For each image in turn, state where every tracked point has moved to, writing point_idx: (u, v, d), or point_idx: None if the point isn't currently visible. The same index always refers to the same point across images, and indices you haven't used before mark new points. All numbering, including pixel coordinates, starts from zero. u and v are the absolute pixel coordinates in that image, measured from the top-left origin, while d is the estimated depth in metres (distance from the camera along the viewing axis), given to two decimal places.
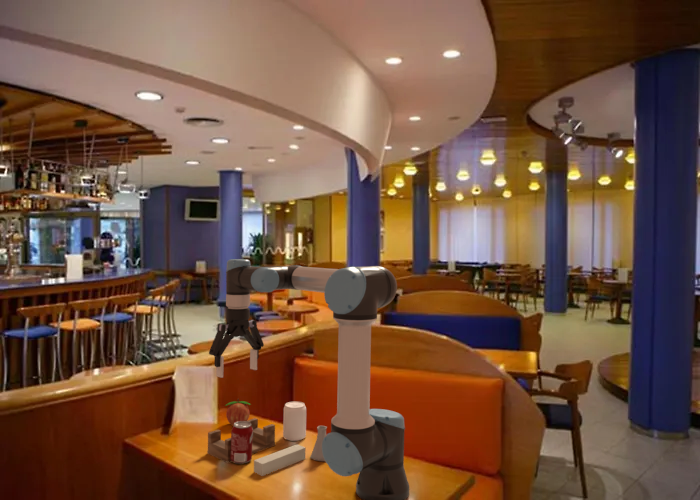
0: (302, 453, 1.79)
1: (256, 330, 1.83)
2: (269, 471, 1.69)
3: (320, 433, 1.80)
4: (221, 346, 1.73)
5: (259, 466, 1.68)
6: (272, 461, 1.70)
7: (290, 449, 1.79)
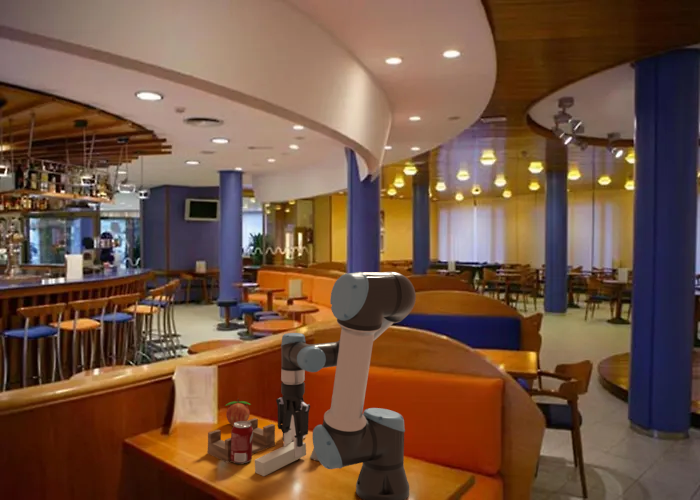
0: (303, 448, 1.79)
1: (301, 416, 1.74)
2: (270, 469, 1.69)
3: None
4: None
5: (260, 465, 1.67)
6: (273, 459, 1.69)
7: (290, 445, 1.78)
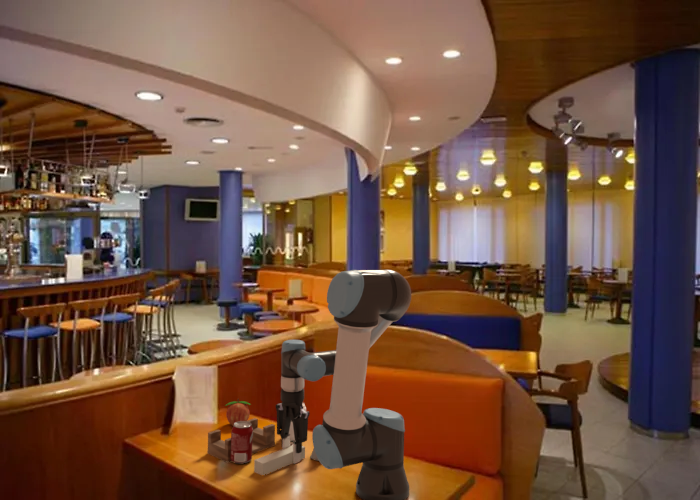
0: (302, 452, 1.80)
1: (301, 423, 1.74)
2: (269, 470, 1.69)
3: None
4: None
5: (260, 466, 1.68)
6: (273, 460, 1.70)
7: (289, 448, 1.79)
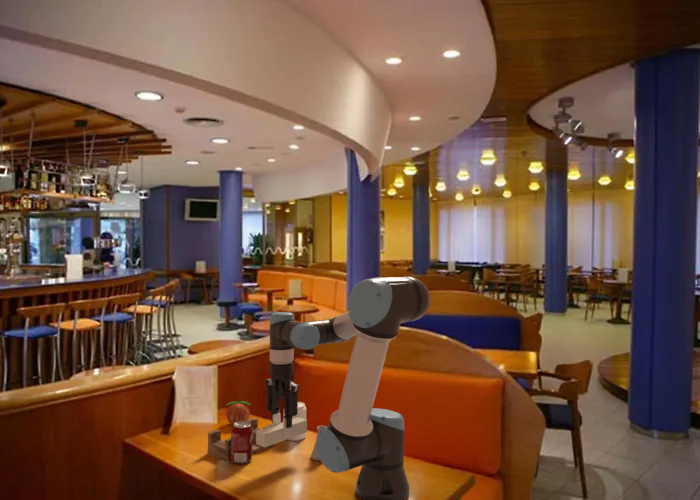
0: (304, 425, 1.79)
1: (290, 396, 1.70)
2: (271, 442, 1.68)
3: None
4: None
5: (262, 436, 1.67)
6: (275, 432, 1.69)
7: None
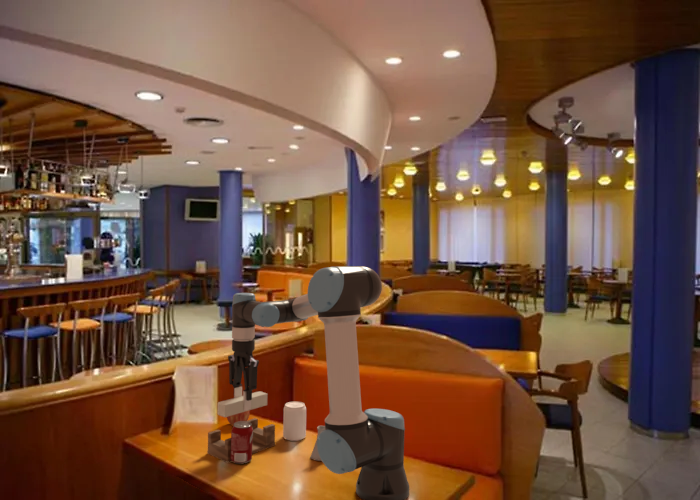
0: (264, 398, 1.92)
1: (250, 371, 1.82)
2: (232, 412, 1.81)
3: None
4: None
5: (222, 407, 1.80)
6: (235, 403, 1.82)
7: (252, 394, 1.91)
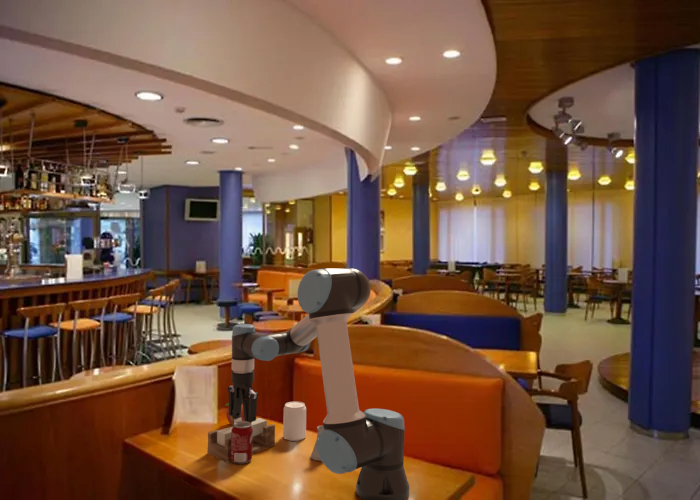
0: (264, 425, 1.92)
1: (249, 403, 1.82)
2: None
3: (319, 433, 1.80)
4: None
5: (222, 436, 1.80)
6: None
7: None
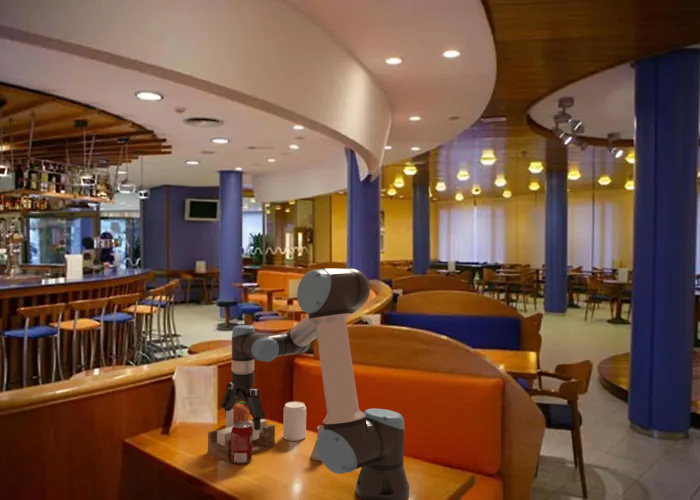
0: (264, 425, 1.92)
1: (253, 400, 1.81)
2: None
3: None
4: None
5: (222, 436, 1.80)
6: None
7: None
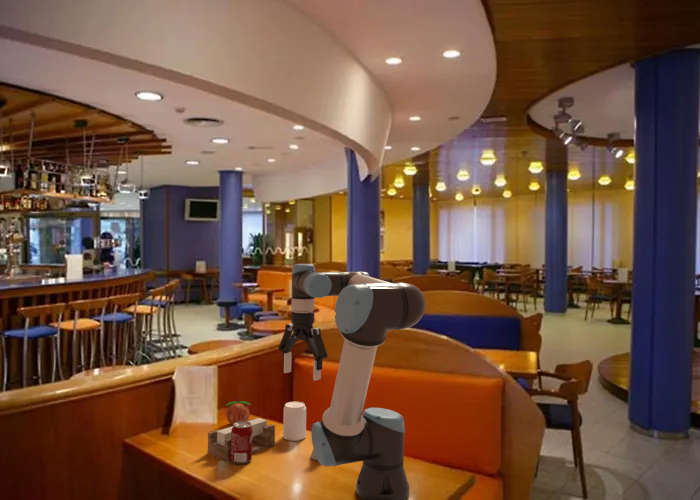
0: (264, 425, 1.92)
1: (315, 339, 1.75)
2: None
3: None
4: None
5: (222, 436, 1.80)
6: None
7: (252, 421, 1.91)
